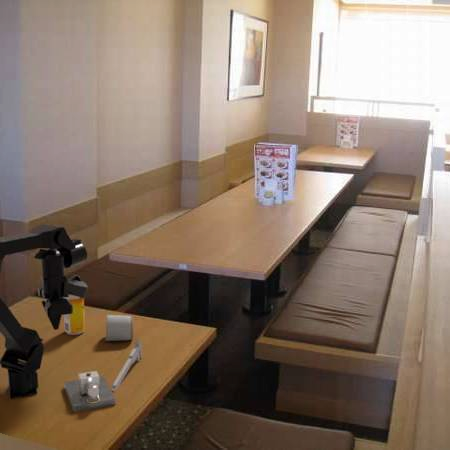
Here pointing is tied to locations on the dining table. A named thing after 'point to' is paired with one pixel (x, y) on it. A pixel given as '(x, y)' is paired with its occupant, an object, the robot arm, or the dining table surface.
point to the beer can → (75, 316)
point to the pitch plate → (82, 398)
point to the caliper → (128, 364)
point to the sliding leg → (88, 380)
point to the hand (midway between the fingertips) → (56, 329)
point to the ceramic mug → (119, 328)
